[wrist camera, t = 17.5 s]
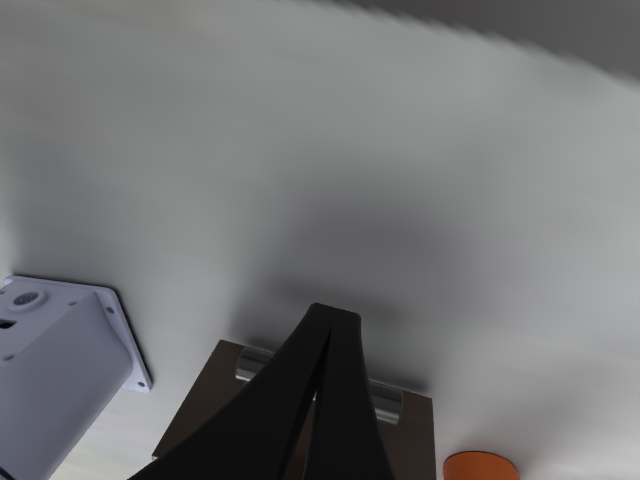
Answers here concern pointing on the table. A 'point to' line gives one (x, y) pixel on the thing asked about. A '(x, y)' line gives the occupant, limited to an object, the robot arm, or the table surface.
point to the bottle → (478, 467)
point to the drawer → (390, 406)
